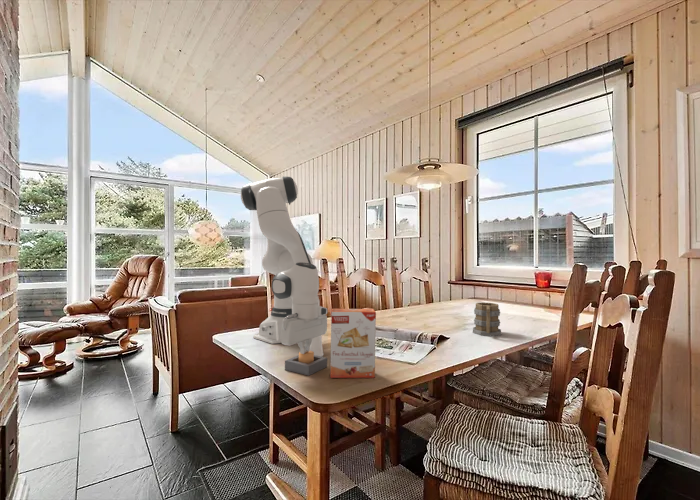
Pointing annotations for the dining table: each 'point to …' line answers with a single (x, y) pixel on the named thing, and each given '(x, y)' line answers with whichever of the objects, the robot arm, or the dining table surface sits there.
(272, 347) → the dining table surface
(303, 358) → the button
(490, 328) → the tankard
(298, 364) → the gray square tray
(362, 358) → the cracker box
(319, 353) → the cosmetic bottle
